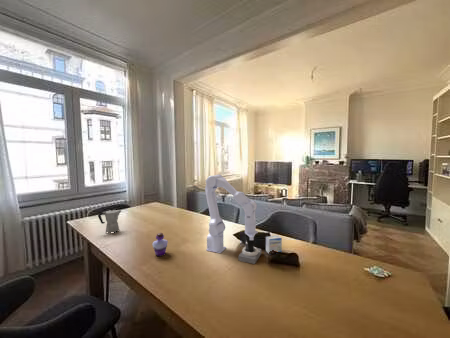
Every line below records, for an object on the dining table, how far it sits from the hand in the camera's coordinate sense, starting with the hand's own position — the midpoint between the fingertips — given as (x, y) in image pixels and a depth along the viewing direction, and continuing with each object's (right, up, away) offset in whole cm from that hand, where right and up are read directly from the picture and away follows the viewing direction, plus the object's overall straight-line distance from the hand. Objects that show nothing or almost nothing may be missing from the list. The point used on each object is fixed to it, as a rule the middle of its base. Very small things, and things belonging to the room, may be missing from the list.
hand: (250, 247), depth 114 cm
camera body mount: (0, -5, 0) cm, 5 cm away
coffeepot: (-98, -4, +40) cm, 106 cm away
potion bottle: (-50, -5, +4) cm, 51 cm away
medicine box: (+14, -5, +6) cm, 16 cm away
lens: (0, -2, 0) cm, 2 cm away
